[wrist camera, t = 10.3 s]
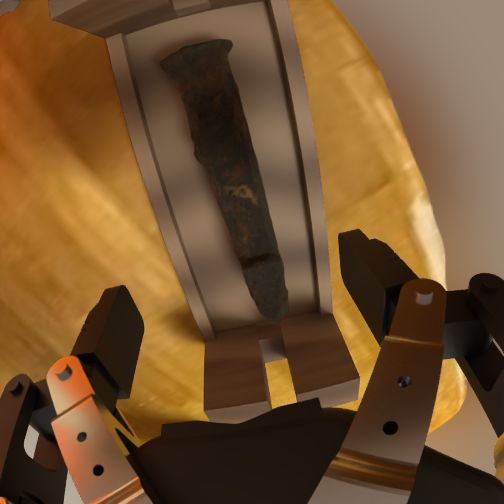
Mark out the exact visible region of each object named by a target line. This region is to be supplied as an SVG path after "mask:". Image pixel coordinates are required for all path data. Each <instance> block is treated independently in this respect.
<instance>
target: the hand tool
mask: <svg viewBox="0 0 504 504" xmlns="http://www.w3.org/2000/svg"><path fill="white" fill-rule="evenodd" d="M232 47H233V42H232V41H231V40H228V39H216V40H211V41H207V42H203V43H198V44H194V45H189V46H184V47H182V48H180V49H179V50H178V51H176V52H174V53H171V54H170V55H169V56H168V57H166V58H165V59H163V60H161V61H160V67H161V68H162V69H163V70H164V71H165V72H166V73H167V74H168V75H169V76H170V78H171V79H172V80H173V81H174V84H175V85H176V86H177V89H178V91H179V92H180V95H181V99H182V102H183V104H184V108H185V110H186V115H187V119H188V124H189V127H190V131H191V133H190V134H191V139H192V140H193V142H194V156H195V158H196V160H197V161H198V162H199V163H200V164H202V166H203V167H204V169H205V170H206V172H207V174H208V176H209V179H210V181H211V184H212V187H213V190H214V193H215V196H216V199H217V202H218V205H219V207H220V210H221V212H222V215H223V217H224V220H225V222H226V225H227V228H228V230H229V233H230V236H231V239H232V242H233V246H234V249H235V252H236V255H237V257H238V259H239V261H240V264H241V268H242V273H243V277H244V279H245V283H246V285H247V287H248V290H249V293H250V295H251V298H252V299H253V300H254V302H255V304H256V306H257V308H258V310H259V312H260V313H261V314H262V315H263V316H264V318H266V319H268V321H270V322H272V323H274V324H275V323H278V322H280V321H281V320H282V318H283V317H284V315H286V314H287V313H289V299H288V290H287V288H286V286H285V278H284V270H285V269H284V264H283V260H282V258H281V255H280V252H279V249H278V244H277V240H276V236H275V232H274V228H273V223H272V220H271V217H270V212H269V207H268V202H267V198H266V194H265V189H264V185H263V180H262V177H261V173H260V170H259V165H258V161H257V157H256V154H255V151H254V148H253V144H252V139H251V135H250V131H249V127H248V123H247V120H246V117H245V114H244V110H243V105H242V102H241V98H240V94H239V89H238V86H237V84H236V81H235V79H234V77H233V74H232V71H231V68H230V65H229V61H228V54H229V52H230V51H231V49H232Z"/></svg>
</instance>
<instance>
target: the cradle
mask: <svg viewBox="0 0 504 504" xmlns="http://www.w3.org/2000/svg"><path fill="white" fill-rule="evenodd" d="M48 4H49V13H50V20H53V21H56V22H60V23H63V24H66V25H69V26H72V27H75V28H78V29H80V30H83V31H86V32H89V33H92V34H94V35H97V36H100V37H102V38H105V39H106V41H107V46H108V51H109V55H110V60H111V64H112V69H113V73H114V77H115V81H116V85H117V89H118V93H119V97H120V101H121V105H122V109H123V112H124V116H125V120H126V123H127V127H128V130H129V134H130V137H131V141H132V144H133V148H134V151H135V154H136V158H137V161H138V164H139V167H140V170H141V174H142V177H143V180H144V183H145V186H146V189H147V192H148V195H149V198H150V201H151V204H152V207H153V210H154V213H155V216H156V219H157V222H158V224H159V227H160V230H161V233H162V236H163V238H164V241H165V244H166V247H167V249H168V252H169V255H170V257H171V260H172V263H173V265H174V268H175V270H176V273H177V276H178V278H179V281H180V283H181V286H182V288H183V291H184V293H185V296H186V298H187V301H188V303H189V306H190V308H191V310H192V313H193V315H194V318H195V320H196V322H197V325H198V327H199V329H200V332H201V334H202V336H203V339H204V341H205V357H204V412H205V414H206V415H207V417H208V418H209V420H210V421H211V422H217V423H231V424H237V423H242V422H244V421H247V420H249V419H252V418H254V417H256V416H259V415H261V414H263V413H266V412H268V411H270V410H272V405H271V399H270V393H269V387H268V380H267V374H266V368H265V363H267V362H272V361H276V360H281V359H285V358H287V359H288V364H289V368H290V372H291V377H292V381H293V385H294V390H295V394H296V398H297V402H301V401H305V400H309V399H313V398H317V397H319V400H320V404H321V407H322V408H326V407H334V406H337V405H341V404H345V403H348V402H351V401H355V400H358V393H359V384H360V376H359V374H358V372H357V369H356V367H355V364H354V362H353V360H352V357H351V355H350V353H349V350H348V348H347V346H346V343H345V341H344V339H343V336H342V334H341V332H340V329H339V327H338V325H337V323H336V320H335V318H334V316H333V309H332V291H331V276H330V263H329V250H328V239H327V229H326V219H325V209H324V201H323V192H322V184H321V176H320V168H319V161H318V154H317V147H316V140H315V134H314V128H313V121H312V115H311V109H310V104H309V98H308V93H307V87H306V82H305V77H304V72H303V67H302V62H301V57H300V52H299V48H298V43H297V39H296V34H295V30H294V25H293V21H292V17H291V13H290V9H289V5H288V1H287V0H48ZM216 39H228V40H231V41H232V42H233V47H232V49H231V51H230V52H229V54H228V61H229V65H230V68H231V71H232V74H233V77H234V79H235V81H236V84H237V86H238V89H239V94H240V98H241V102H242V105H243V110H244V114H245V117H246V120H247V123H248V127H249V131H250V135H251V139H252V144H253V148H254V151H255V154H256V157H257V161H258V165H259V170H260V173H261V177H262V180H263V185H264V189H265V194H266V198H267V202H268V207H269V212H270V217H271V220H272V223H273V228H274V232H275V236H276V240H277V244H278V249H279V252H280V255H281V258H282V260H283V264H284V269H285V270H284V278H285V286H286V288H287V290H288V299H289V313H287V314H286V315H284V317H283V318H282V320H281V321H280V322H278V323H275V324H274V323H272V322H270V321H268V319H266V318H264V316H263V315H262V314H261V313H260V312H259V310H258V308H257V306H256V304H255V302H254V300H253V299H252V298H251V295H250V293H249V290H248V287H247V285H246V283H245V279H244V277H243V273H242V268H241V264H240V261H239V259H238V257H237V255H236V252H235V249H234V246H233V242H232V239H231V236H230V233H229V230H228V228H227V225H226V222H225V220H224V217H223V215H222V212H221V210H220V207H219V205H218V202H217V199H216V196H215V193H214V190H213V187H212V184H211V181H210V179H209V176H208V174H207V172H206V170H205V169H204V167H203V166H202V164H200V163H199V162H198V161H197V160H196V158H195V156H194V142H193V140H192V139H191V134H190V133H191V131H190V127H189V124H188V119H187V115H186V110H185V108H184V104H183V102H182V99H181V95H180V92H179V91H178V89H177V86H176V85H175V84H174V81H173V80H172V79H171V78H170V76H169V75H168V74H167V73H166V72H165V71H164V70H163V69H162V68H161V67H160V61H161V60H163V59H165V58H166V57H168V56H169V55H170V54H171V53H174V52H176V51H178V50H179V49H180V48H182V47H184V46H189V45H194V44H198V43H203V42H207V41H211V40H216Z"/></svg>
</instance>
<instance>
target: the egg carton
mask: <svg viewBox="0 0 504 504" xmlns="http://www.w3.org/2000/svg"><path fill="white" fill-rule="evenodd" d="M18 5H19V0H0V16H1V15H3V14H4V13H6V12H11V13H12V12H13V11H14V10H15V9H16V7H17V6H18Z"/></svg>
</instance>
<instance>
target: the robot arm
mask: <svg viewBox="0 0 504 504" xmlns="http://www.w3.org/2000/svg"><path fill="white" fill-rule="evenodd" d="M338 243H339V255H340V268H341V275H342V279H343V282H344V285H345V287H346V288H347V290H348V292H349V294H350V295H351V297H352V299H353V300H354V302H355V304H356V305H357V307H358V309H359V311H360V312H361V314H362V316H363V317H364V319H365V321H366V323H367V324H368V326H369V328H370V330H371V331H372V333H373V335H374V337H375V339H376V340H377V342H378V344H379V346H380V347H381V349H380V352H379V355H378V358H377V361H376V364H375V366H374V369H373V372H372V375H371V377H370V380H369V383H368V385H367V388H366V390H365V393H364V396H363V398H362V401H361V403H360V405H359V408H358V410H357V411H353V410H349V409H343V408H331V407H326V408H322V407H321V404H320V400H319V397H317V398H313V399H309V400H305V401H301V402H297V403H293V404H289V405H284V406H280V407H277V408H275V409H273V410H270V411H268V412H266V413H263V414H261V415H259V416H256V417H254V418H252V419H249V420H247V421H244V422H242V423H237V424H231V423H217V422H206V421H191V422H182V423H171V424H162V431H161V436H158V437H156V438H154V439H151V440H149V441H148V442H146V443H144V444H142V442H141V441H140V439H139V438H138V437H137V435H136V434H135V432H134V431H133V429H132V428H131V426H130V425H129V423H128V422H127V420H126V419H125V417H124V415H123V414H122V412H121V411H120V409H119V408H118V407H117V406H116V402H117V399H129V398H130V393H131V388H132V383H133V378H134V374H135V369H136V365H137V360H138V356H139V351H140V347H141V343H142V338H143V334H144V322H143V319H142V316H141V314H140V312H139V310H138V309H137V307H136V305H135V303H134V301H133V299H132V297H131V295H130V293H129V291H128V289H127V288H126V286H124V285H120V286H116V287H112V288H107V289H105V290H104V292H103V294H102V296H101V298H100V301H99V303H98V304H97V305H96V306H95V307H94V308H93V309H92V310H91V311H90V312H89V314H88V316H87V318H86V320H85V324H84V325H83V327H82V329H81V332H80V334H79V336H78V338H77V340H76V343H75V345H74V347H73V350H72V352H71V354H70V356H66V357H63V358H61V359H59V360H58V361H56V362H55V363H54V364H53V365H52V366H51V368H50V369H49V371H48V374H47V379H44V380H42V381H39V382H37V383H34V382H33V381H32V380H31V379H30V378H29V377H28V376H27V375H26V374H19V375H17V376H15V377H14V378H12V379H11V380H10V381H9V382H8V384H7V385H6V387H5V389H4V391H3V394H2V396H1V398H0V504H63V503H64V494H65V487H66V479H67V472H68V470H69V473H70V475H71V477H72V480H73V482H74V484H75V486H76V488H77V490H78V493H79V495H80V497H81V499H82V501H83V503H84V504H504V356H503V355H502V353H501V352H500V351H499V349H498V348H497V346H496V345H495V344H494V342H493V341H492V340H493V338H494V339H495V341H496V342H497V344H498V345H499V346H500V348H501V349H502V351H503V353H504V280H503V279H501V278H500V277H498V276H496V275H493V274H489V273H480V274H477V275H475V276H473V277H472V278H471V280H470V282H469V286H468V289H466V290H455V291H446V290H445V289H444V287H443V286H442V285H441V284H440V283H438V282H436V281H434V280H431V279H425V278H418V276H417V275H416V274H415V273H414V272H413V271H412V270H411V269H410V268H409V267H408V266H407V265H406V264H405V262H404V261H403V260H402V259H400V257H399V256H398V255H397V254H396V253H394V251H393V250H392V249H391V248H390V247H389V246H388V245H387V244H386V243H384V242H382V241H379V240H377V239H371V240H369V239H368V238H367V237H366V235H365V234H364V233H363V232H362V231H361V230H360V229H355V230H351V231H347V232H343V233H339V235H338ZM451 358H455V359H456V361H457V363H458V364H459V366H460V368H461V369H462V371H463V373H464V375H465V376H466V378H467V380H468V381H469V383H470V385H471V387H472V388H473V390H474V392H475V394H476V396H477V397H478V399H479V401H480V403H481V405H482V407H483V409H484V411H485V412H486V414H487V416H488V418H489V420H490V422H491V424H492V426H493V428H494V430H495V432H496V434H497V436H498V440H497V442H496V445H495V448H494V459H495V463H494V465H495V468H496V475H495V476H493V475H491V474H489V473H486V472H484V471H481V470H479V469H477V468H474V467H472V466H470V465H467V464H465V463H463V462H460V461H458V460H456V459H454V458H451V457H449V456H447V455H445V454H443V453H441V452H438V451H436V450H434V449H432V448H430V447H428V446H426V445H425V441H426V437H427V434H428V430H429V426H430V422H431V418H432V414H433V409H434V405H435V400H436V395H437V390H438V385H439V380H440V374H441V368H442V361H443V359H451ZM29 425H31V426H32V427H33V428H34V429H35V430H36V431H37V432H38V433H39V437H38V441H37V445H36V449H35V453H34V457H33V459H32V458H30V457H29V456H28V455H27V453H26V452H25V449H24V439H25V436H26V433H27V429H28V426H29Z"/></svg>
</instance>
